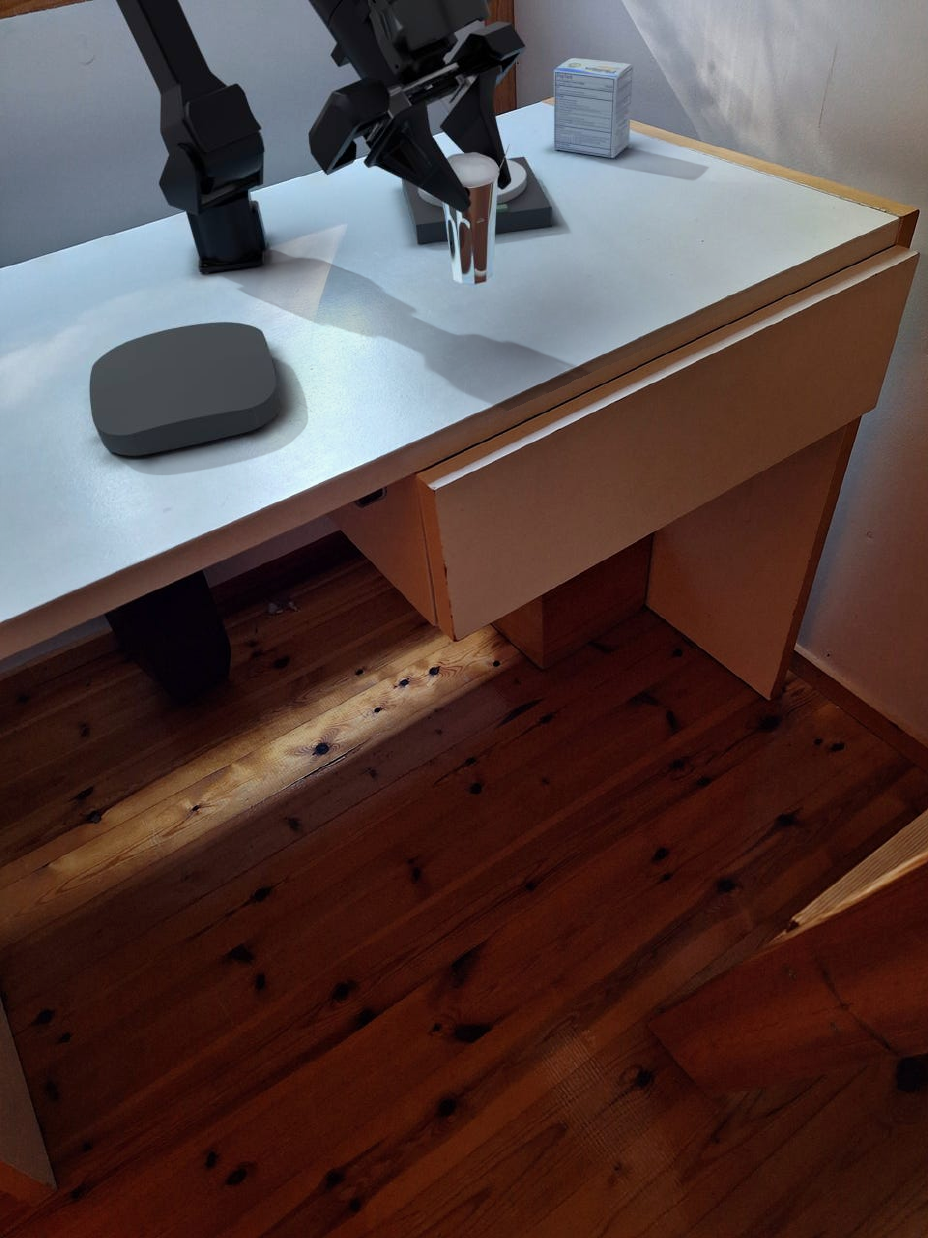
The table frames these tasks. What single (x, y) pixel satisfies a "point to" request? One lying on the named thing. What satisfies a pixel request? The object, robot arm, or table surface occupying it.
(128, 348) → the media streaming box
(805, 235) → the table surface
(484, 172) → the milkshake
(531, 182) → the scale
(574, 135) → the medicine box
